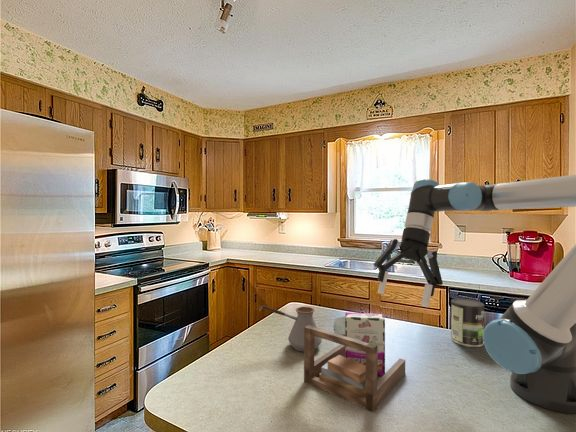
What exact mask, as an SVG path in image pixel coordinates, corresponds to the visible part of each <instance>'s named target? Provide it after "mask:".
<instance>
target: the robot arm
mask: <svg viewBox="0 0 576 432" xmlns="http://www.w3.org/2000/svg"><path fill="white" fill-rule="evenodd" d="M569 207H570V208H574V207H576V174H571V175H562V176H554V177H544V178H535V179H527V180H519V181H511V182H501V183H493V184H492V183H491V184H483V185H482V184H481V185H479V184H477V183H476V182H473V181H468V182H467V181H466V182H463V181H460V182H457V183H456V182H455V183H449V184H443V185H440V184H439V182H438V181H436V180H434V179H429V178H428V179H425V178H421V179H420V178H419V179H418V180H416V181H414V184H413V186H412V189H411V192H410V198H409V204H408V208H407V213H406V217H405V220H404V221H405V222H404V227H405V228H403V231H402V235H401V241H399V239H397V238H394V239H393V238H392V239H391V240H390V242H389V244H388V246H387V248H386V249H385V250H384V251H383V253H381V255H380V256H379V257H378V259H376V261H375V262H374V264H373V266H374V267H376V268H377V269H378V274H377V281H378V282H379V284H378V289H377V294H379V295H384V294H385V289H386V285H387V280H388V276H389V271H387V270H388V269H389V268H391V267H392V266H394V265H395V264H396V263H398V262H399V261H400V260H402V259H403V258H404V259H405V260H409V261H411V262H416V263H417V264H418V265H419V268H420V270H421V273H422V274H423V276H424V278H425V279H426V282H427V283H424V288H423V293H422V298H421V303H420V306H421V307H425V308H429V306H430V301H431V297H434V295H435V294H434V293H435V290H436V286H442V285H443V284H444V283H443V279H442V276H441V275H442V274H441V270H440V266H439V262H438V260H437V259H438V252H437V251H436V250H429V249H428V246H429V243H430V237H431V233H430V232H432V229H433V223H434V217H435V213H436V212H453V211H455V212H457V211H459V212H464V211H465V212H469V211H471V212H472V211H475V212H477V211H478V212H491V211H501V210H503V211H505V210H525V209H527V210H529V209H549V208H550V209H551V208H569ZM398 247H399V252H398V253H396V254H395V255H394V256H393V257H391V258H390V259H389V260H387V259H388V258H389V257H390V255H392V253H393V252H394V250H395V249H396V248H398ZM426 257H427V258H428V260H427V258H426ZM386 260H387V261H386ZM427 261H428V263H427ZM384 262H385V263H384ZM428 264H429V265H428ZM483 345H484V348H485V350H486V352H487V354H488V356H490V358H491V359H492V360H493V361H494V362H495V363H496V364H498V366H500V367H501V368H503V369H504V370H506V371H507V372H510V373H511V374H510V376H509V377H510V378H509V380H510V381H509V384H510V385H509V386H510V388H511V390H512V391H513V392H514V393H515V394H516V395H518V396H519V397H520V398H522V399H524V400H525V401H527V402H529V403H531V404H534V405H535V406H538V407H541V408H543V409H546V410H550V411H554V412H556V413H557V412H558V413H563V414H572V415H573V413H576V243H575V244H574V245H573V246H572V248H571V249H570V250H569V251H568V252H567V253H566V254H565V256H564V257H563V258H562V259H561V260H560V261H559V262H558V264H557V265H556V266H555V267H554V268H553V270H552V271H551V272H550V273H549V274H548V275H547V276H546V277H545V279H543V281H542V282H541V283H540V284H539V285H538V286H537V288H536V289H535V290H534V291H533V292H532V293H531V295H530V296H529V297H528V298H527V299H516V300H514V301H513V303H512V304H511V305H510V306H509V307H508V309H506V311H504V313H503V314H502V316H500V317H499V318H498V319H497V318H496V319H494V320H493V319H492V320H491V321H489V323H487V325H486V326H485V327H484V328H483Z"/></svg>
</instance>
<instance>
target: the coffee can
mask: <svg viewBox="0 0 576 432" xmlns="http://www.w3.org/2000/svg"><path fill="white" fill-rule="evenodd" d="M450 303H451V311H450V313H451V314H450V315H451V320H450V321H451V322H450V327H451V328H450V339H451V341H452V342H453V343H456V344H458V345H460V346H464V347H469V348H481V347H483V346H484V341H483V331H484V328H485V327H484V322H485V321H484V319H485V317H484V316H485V315H484V314H485V303H483V302H481V301H479V300H474V299H470V298H469V299H468V298H453V299H451V300H450Z"/></svg>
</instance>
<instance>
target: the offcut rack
mask: <svg viewBox="0 0 576 432" xmlns="http://www.w3.org/2000/svg"><path fill="white" fill-rule="evenodd" d="M314 336H316V337H319V338H322V340H326V341H330V342H333V343H336V344H339V345H336V346H335V347H334V348H332V349H331V350H329V351H328V352H326V353H324V354H323V355H322V356H320V357H318V358H316V359H315V350H314ZM345 346H348V347H351V348H354V349H357V350H360V351H363V352H366V385H365V397H363V396H361V395H359V394H356V393H354V392H351V391H349V390H347V389H344V388H342V387H339V386H337V385H335V384H332V383H330V382H327V381H325V380H323V379H320V378H319V374H320V373H321V367H322V366H323V365H325V364H326V363H327V362H328V361H329V360H331V359H332V358H334V357H336V356H338V355H341V356H343V357H345ZM377 350H378V345H374V344H371V343H366V342H363V341H359V340H356V339H353V338H349V337H346V336H343V335H339V334H336V333H334V332H332V331H329V330H325V329H322V328H318V327H317V328H316V327H313V326H310V325H308V326H306V327H304V352H303V382H304V383H306V384H307V385H308V384H309V385H312V386H314V387H316V388H319V389H321V390H323V391H326V392H328V393H330V394H331V395H333V396H337V397H339V398H341V399H342V400H346V401H348V402H350V403H353V404H354V405H356V406H359V407H361V408H364V409H365V410H366V411H370V412H371V413H374V412H376V410H377V409H378V406H379V405H380V404H381V403H382V402H383V400H385V398H386V397H387V395H389V393H390V392H391V391H392V390H393V389H394V388H395V387H396V386H397V384H398V383H399V382H400V381H401V380H402V378H403V377H404V376H405V375H406V359H403V358H399V359H397V361H395V363H394V364H393V365H392V366H391V367H390V368H389V369H388V370H386V371H385V374H384V375H383V376H380V378H379V379H378V376H377Z"/></svg>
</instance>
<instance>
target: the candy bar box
mask: <svg viewBox="0 0 576 432" xmlns="http://www.w3.org/2000/svg"><path fill="white" fill-rule="evenodd" d="M344 316H345V336H346V337H349V338H353V339H356V340H359V341H363V342H366V343H371V344H374V345H378V350H377V377H382V376H383V375H384V374H385V373H386V322H385V321H386V319H385V317H384V314H383V313H371V312H370V313H368V312H345V315H344ZM345 357H346V358H348V359H350V360H353V361H355V362H358V363H360V364H363V365H365V366H366V352H363V351H360V350H357V349H354V348H351V347H348V346H345Z"/></svg>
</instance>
